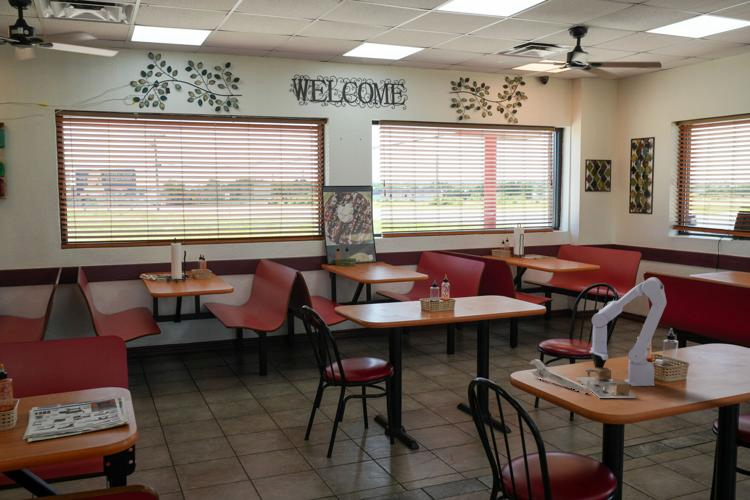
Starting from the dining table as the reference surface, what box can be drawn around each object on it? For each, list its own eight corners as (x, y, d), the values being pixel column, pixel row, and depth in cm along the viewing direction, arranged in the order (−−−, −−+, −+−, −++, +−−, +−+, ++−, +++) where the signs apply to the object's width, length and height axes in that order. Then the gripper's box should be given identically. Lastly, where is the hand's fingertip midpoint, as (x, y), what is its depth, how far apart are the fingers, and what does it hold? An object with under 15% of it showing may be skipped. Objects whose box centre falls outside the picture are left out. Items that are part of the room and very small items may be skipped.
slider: (606, 375, 282) (606, 367, 282) (611, 379, 277) (611, 370, 277) (582, 376, 282) (582, 367, 282) (586, 379, 277) (586, 371, 277)
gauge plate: (609, 378, 283) (609, 367, 283) (635, 398, 257) (635, 385, 257) (576, 379, 283) (576, 367, 282) (599, 399, 257) (599, 386, 256)
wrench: (584, 402, 263) (528, 375, 287) (587, 401, 264) (531, 374, 288) (587, 382, 261) (530, 357, 286) (590, 382, 262) (533, 357, 287)
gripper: (584, 337, 290) (583, 368, 291) (596, 345, 276) (595, 377, 277) (600, 336, 290) (599, 367, 292) (613, 344, 276) (612, 377, 277)
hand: (598, 372), depth 284 cm, fingers closed
